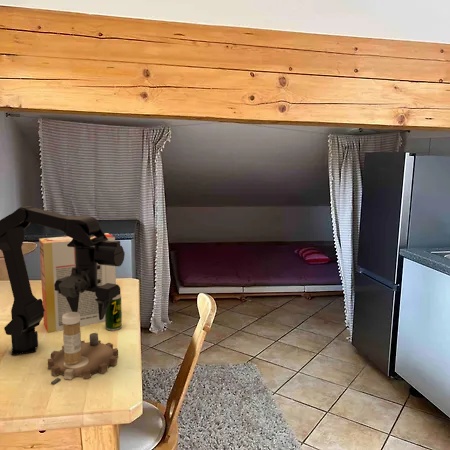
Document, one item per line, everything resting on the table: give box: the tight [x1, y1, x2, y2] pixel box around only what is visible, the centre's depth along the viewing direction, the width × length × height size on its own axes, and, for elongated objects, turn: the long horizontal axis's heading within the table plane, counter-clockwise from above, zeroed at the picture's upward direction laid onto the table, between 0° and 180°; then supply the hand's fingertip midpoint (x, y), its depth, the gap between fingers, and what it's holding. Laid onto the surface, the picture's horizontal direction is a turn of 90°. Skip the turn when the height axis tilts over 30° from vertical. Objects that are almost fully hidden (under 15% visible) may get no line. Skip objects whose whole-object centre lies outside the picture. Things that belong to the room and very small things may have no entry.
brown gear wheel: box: [47, 332, 119, 380], centre depth 117 cm, size 19×19×5 cm
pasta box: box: [38, 232, 117, 334], centre depth 142 cm, size 23×8×30 cm, turn 122°
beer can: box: [104, 294, 123, 332], centre depth 140 cm, size 5×5×12 cm
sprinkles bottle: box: [62, 312, 82, 365], centre depth 111 cm, size 5×5×14 cm
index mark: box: [50, 377, 62, 386], centre depth 107 cm, size 2×1×1 cm, turn 161°
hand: (88, 316), depth 117 cm, fingers open, 9 cm apart
